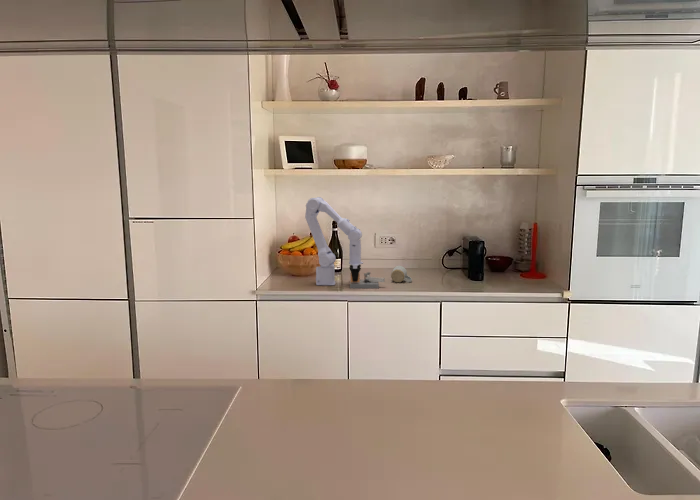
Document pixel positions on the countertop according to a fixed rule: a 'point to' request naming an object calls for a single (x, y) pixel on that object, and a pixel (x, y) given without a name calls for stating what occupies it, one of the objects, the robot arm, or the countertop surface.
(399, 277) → the ceramic mug
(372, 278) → the lever handle
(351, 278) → the orange cube
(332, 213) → the robot arm
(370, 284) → the box
